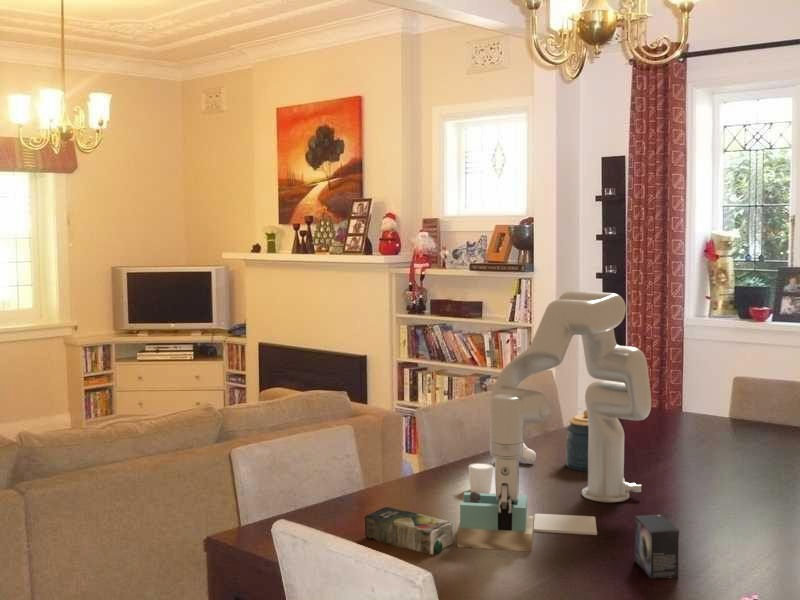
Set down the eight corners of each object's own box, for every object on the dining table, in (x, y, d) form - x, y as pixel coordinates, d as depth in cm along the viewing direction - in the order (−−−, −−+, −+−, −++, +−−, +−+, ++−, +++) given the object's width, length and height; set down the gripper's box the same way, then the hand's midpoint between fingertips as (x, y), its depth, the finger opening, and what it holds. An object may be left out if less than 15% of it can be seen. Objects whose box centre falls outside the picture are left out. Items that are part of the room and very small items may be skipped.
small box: (632, 561, 200) (633, 514, 200) (661, 560, 201) (662, 513, 200) (649, 579, 190) (650, 530, 189) (679, 578, 190) (680, 529, 190)
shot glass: (491, 494, 250) (491, 469, 249) (466, 493, 251) (466, 468, 250) (494, 487, 256) (494, 463, 256) (469, 486, 258) (470, 462, 257)
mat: (595, 518, 229) (595, 516, 229) (596, 534, 217) (597, 532, 217) (534, 515, 231) (534, 513, 231) (533, 531, 220) (533, 529, 220)
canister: (561, 469, 274) (562, 412, 273) (570, 459, 286) (570, 404, 285) (605, 474, 270) (606, 415, 268) (612, 463, 281) (613, 407, 280)
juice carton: (457, 544, 212) (457, 518, 211) (435, 557, 204) (434, 530, 203) (387, 529, 223) (386, 504, 223) (363, 541, 215) (362, 515, 215)
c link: (527, 517, 218) (527, 495, 217) (525, 531, 208) (525, 508, 207) (464, 514, 220) (464, 492, 220) (460, 528, 210) (460, 504, 210)
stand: (533, 532, 219) (533, 486, 218) (531, 551, 206) (532, 502, 205) (463, 528, 222) (463, 483, 221) (457, 547, 209) (457, 499, 208)
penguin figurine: (506, 430, 288) (541, 438, 282) (504, 456, 290) (538, 465, 283) (497, 434, 283) (532, 442, 277) (495, 460, 284) (530, 469, 278)
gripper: (521, 459, 199) (520, 537, 200) (524, 440, 216) (523, 513, 217) (487, 457, 200) (486, 535, 201) (492, 439, 217) (492, 511, 219)
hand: (505, 523), depth 209 cm, fingers open, 7 cm apart
